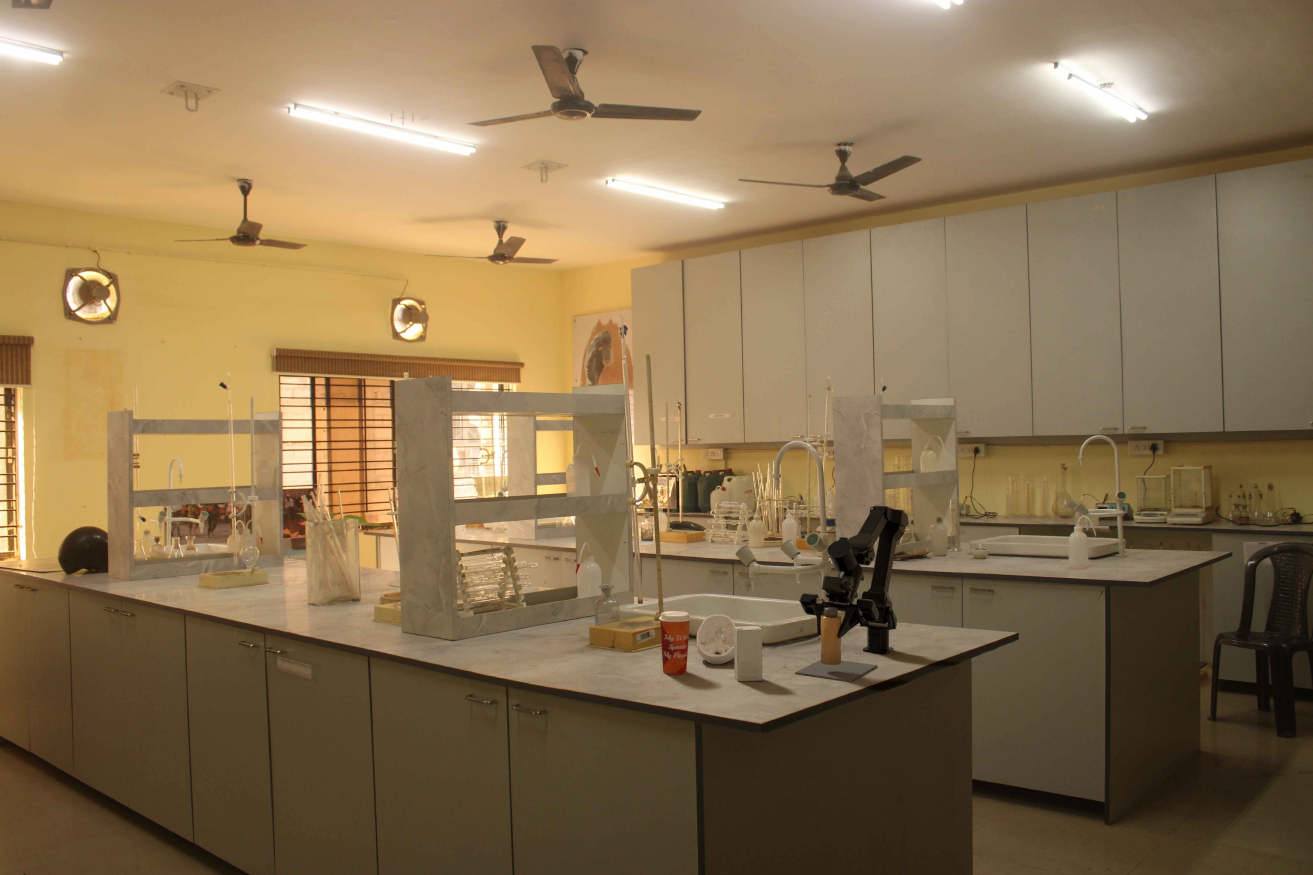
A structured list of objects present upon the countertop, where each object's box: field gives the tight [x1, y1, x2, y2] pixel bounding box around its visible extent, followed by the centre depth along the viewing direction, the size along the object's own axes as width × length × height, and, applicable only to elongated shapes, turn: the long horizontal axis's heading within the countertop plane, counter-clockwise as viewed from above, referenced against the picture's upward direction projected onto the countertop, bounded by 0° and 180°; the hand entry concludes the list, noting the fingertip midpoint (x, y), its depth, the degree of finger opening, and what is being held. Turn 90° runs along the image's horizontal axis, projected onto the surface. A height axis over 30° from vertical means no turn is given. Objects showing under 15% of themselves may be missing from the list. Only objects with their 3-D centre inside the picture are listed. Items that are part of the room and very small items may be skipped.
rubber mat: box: [794, 659, 878, 683], centre depth 232 cm, size 18×14×1 cm
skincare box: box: [733, 625, 763, 682], centre depth 222 cm, size 6×4×12 cm
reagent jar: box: [820, 607, 842, 665], centre depth 228 cm, size 5×5×13 cm
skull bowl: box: [696, 614, 736, 665], centre depth 243 cm, size 10×14×12 cm
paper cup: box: [658, 610, 692, 676], centre depth 229 cm, size 8×8×14 cm
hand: (828, 635), depth 227 cm, fingers closed on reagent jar, 5 cm apart
